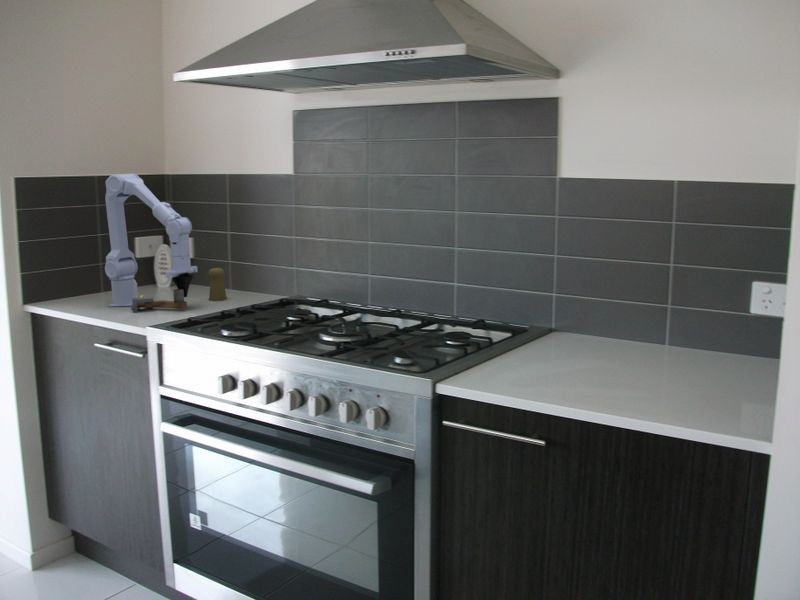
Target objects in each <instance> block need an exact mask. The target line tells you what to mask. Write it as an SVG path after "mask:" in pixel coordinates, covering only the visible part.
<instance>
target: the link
mask: <svg viewBox="0 0 800 600" xmlns="http://www.w3.org/2000/svg"><path fill="white" fill-rule="evenodd" d="M153 301H154V302H140V303H137V307H138V308H142V307H152V308H153V309H155V308H157V309H158V308H159V309H177V310H179V309H180V310H184V309H187V308H188V304H187V301H185V297H184V289H178V288H175V289H173V300H158V299H153Z"/></svg>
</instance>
